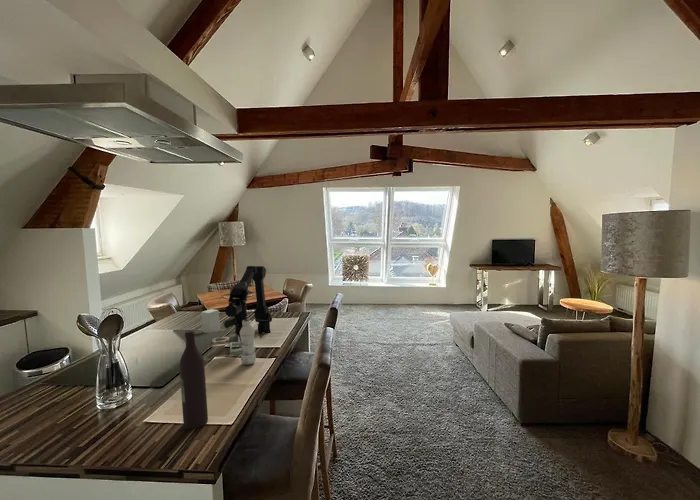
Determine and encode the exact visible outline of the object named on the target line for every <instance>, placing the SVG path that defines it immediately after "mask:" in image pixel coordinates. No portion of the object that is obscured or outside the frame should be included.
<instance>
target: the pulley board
mask: <svg viewBox="0 0 700 500" xmlns="http://www.w3.org/2000/svg"><path fill="white" fill-rule="evenodd" d="M231 342H239V341H238V335H236V334H235V333H233V334H230V335H228V336H222V337H220V336H219V337H214V338H212V343H211V347H221V346H228V345H229V346H230V343H231Z"/></svg>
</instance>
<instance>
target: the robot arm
mask: <svg viewBox="0 0 700 500" xmlns="http://www.w3.org/2000/svg"><path fill="white" fill-rule="evenodd" d="M266 273H267V268H266V267H265V266H264V265H248V266H246V268H245V271H244V274H243V275H242V277H241V279H240V280H239V282H237V283H236V284H235V285H234V286H233V288H232V289H231V291H230V294H229V297H228V305H227V306H226V307H225V309H224V311H225V315H226V316H227V317H229V318H227V319H225V320H223V323H222V324H223V326H224V328H225V329H227V330H228V329H229V328H230V327H232V326H233V327H234V326H235V327H234V334H236V335H238V336H239V338H240V330H241V328H242V327H243V325H242V321H243V320H247V319H248V312H247V311H248V310H247V301H248V299H247V298H248V296H249V291H250V290H249V286H250V284H251V282H252V281H253V282H254V288H255V297H256V308H255V310H254V311H253V312H254V314H253V315H254V320H255V323H257V332H258V334H266V333H271V325H270V324H271V322H273V316H272V313H271V311H270V308H269V307H268V305H267V304H266V296H265V294H266V293H265V285H264V280H265V278H266ZM240 341H241V338H240ZM241 345H242V344H241Z"/></svg>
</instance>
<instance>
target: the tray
mask: <svg viewBox="0 0 700 500" xmlns="http://www.w3.org/2000/svg"><path fill="white" fill-rule="evenodd" d="M235 345H239V342H231V343H230V344H229V353H230V354H229V355H230V356H237V355H241V354H242V348H239V347H238V348H233V346H235ZM256 349H257V348H256V342H255V340H254V351H255V353H256V351H257V350H256Z"/></svg>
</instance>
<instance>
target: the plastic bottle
mask: <svg viewBox="0 0 700 500" xmlns="http://www.w3.org/2000/svg"><path fill="white" fill-rule="evenodd" d="M242 325H243V327H242V328H241V330H240V338H241V344H242V351H241V352H242V354H240V361H241V364H242V365H244V366H248V365H252V364H254V363H255V362H256V358H257V356H256V352H255V351H254V350H255V349H254V341H255V329H254V327H253V326H252V322H251V319H248V318H247V320H243V321H242Z"/></svg>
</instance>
